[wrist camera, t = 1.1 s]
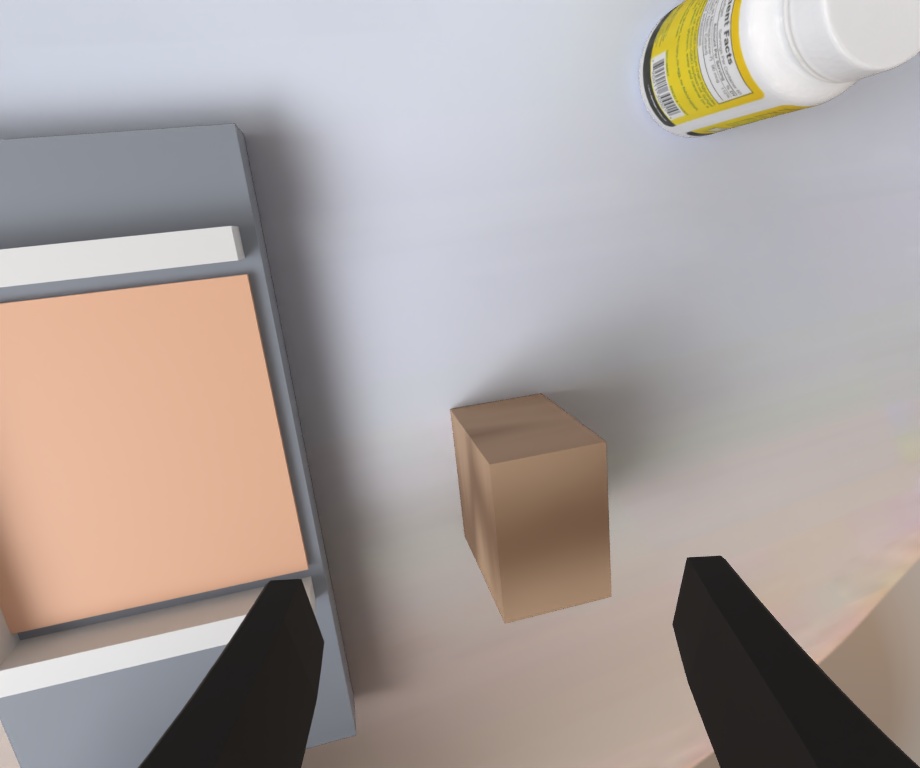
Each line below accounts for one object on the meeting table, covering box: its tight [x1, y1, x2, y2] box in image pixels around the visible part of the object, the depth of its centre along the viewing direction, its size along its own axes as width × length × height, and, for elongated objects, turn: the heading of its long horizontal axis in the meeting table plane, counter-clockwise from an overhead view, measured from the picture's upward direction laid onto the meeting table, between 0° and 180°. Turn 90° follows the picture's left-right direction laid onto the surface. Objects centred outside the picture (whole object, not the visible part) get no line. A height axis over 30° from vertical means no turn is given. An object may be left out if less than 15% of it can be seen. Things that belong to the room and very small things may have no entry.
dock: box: [0, 123, 356, 768], centre depth 20 cm, size 24×12×4 cm, turn 6°
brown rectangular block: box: [450, 394, 611, 623], centre depth 22 cm, size 6×4×6 cm, turn 6°
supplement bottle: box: [639, 0, 920, 137], centre depth 18 cm, size 5×5×8 cm
